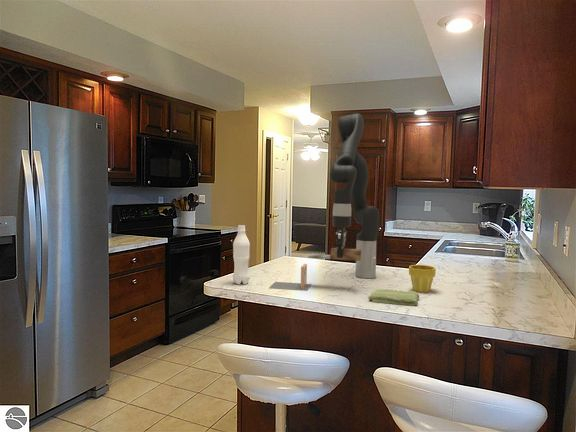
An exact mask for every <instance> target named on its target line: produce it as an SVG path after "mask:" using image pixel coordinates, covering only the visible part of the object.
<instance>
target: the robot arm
mask: <svg viewBox="0 0 576 432" xmlns="http://www.w3.org/2000/svg"><path fill="white" fill-rule="evenodd" d="M337 127H338V133H339V136H340V137H339V138H340V140H341V145H340V146H339V150H338V155H337V159H336V160H335V162H334V163H333V165H332V166H331V169H330V171H329V177H330V180H331V182H333V183H336V184H341V183H342V184H346V186H345V187H340V188H337V189H336V188H335V190H334V192H333V206H332V222H331V223H332V224H331V225H332V227H335V228H337V230H335V242H336V245H335V248H337V257H338V258H342V257H343V248H345V246H346V244H347V243H346V241H347V232H348V231H347V230H346V228H350V227H352V226H351V225H352V211H353V218H354V221H355V222H356V224H358V225H360V226H361V227H362V228H361V231H360V232H358V233H357V234H356V243H355V244H356V245H355V246H356V248H355V249H361V260H360V261H356V260H355V277H357V278H361V279H376V272H377V271H376V270H377V239H378V236H379V230H380V221H381V220H380V219H381V218H380V212H379V209H378V208H377V207H376V206H373V205H368V203H367V196H366V193H367V188H368V185H369V180H370V178H369V177H370V176H369V175H370V174H369V168H368V164H367V161H366V160H365V158H364V157H363V156H362V154H360V153H359V152H358V146H359V143H360V141H361V139H362V136H363V134H364V131H365V121H364V118H363V115H362V114H361V113H353V114H352V113H351V114H348V115H344V116H340V117H339V118H338V120H337Z"/></svg>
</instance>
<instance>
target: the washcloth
mask: <svg viewBox="0 0 576 432" xmlns="http://www.w3.org/2000/svg"><path fill="white" fill-rule="evenodd" d="M367 298H368V300H371V302H372V303H378V304H387V305H397V306H399V305H400V306H409V307H410V306H411V307H415V306H417V305H418V303H419V302H418V301H419V299H420V295H419V292H417V291H414V290H409V291H405V290H394V289H375V290H373V291H372V292H370V295H368V297H367Z"/></svg>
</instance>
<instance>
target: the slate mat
mask: <svg viewBox="0 0 576 432" xmlns="http://www.w3.org/2000/svg"><path fill="white" fill-rule="evenodd" d="M312 285H313V284H312V283H307V285H306V287H305V288H304V289H301V282H300V283H299V282H286V281H285V282H283V281H275V282H273V283H272V284H271V285H270V286H269V287H268V289H269V290H270V289H272V290H284V291H285V290H288V291H301V292H302V291H303V292H305V291H306V292H308V291H309V290H310V288H311V286H312Z"/></svg>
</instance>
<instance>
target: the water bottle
mask: <svg viewBox="0 0 576 432" xmlns="http://www.w3.org/2000/svg"><path fill="white" fill-rule="evenodd" d="M250 246H251V243H250V240H249V238H248V236H247V233H246V225H245V224H238V225H237V234H236V236H235V238H234V240H233V242H232V249H233V250H232V254H233V255H232V257H233V262H234V263H233V264H234V265H233V266H234V269H233V270H234V271H233V274H232V281H233V282H234V284H236V285H241V283H242V285H246V284H248V283H249V281H250V277H251V275H250V272H249V260H250V257H251V255H250V253H251V252H250V248H251V247H250Z"/></svg>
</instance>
